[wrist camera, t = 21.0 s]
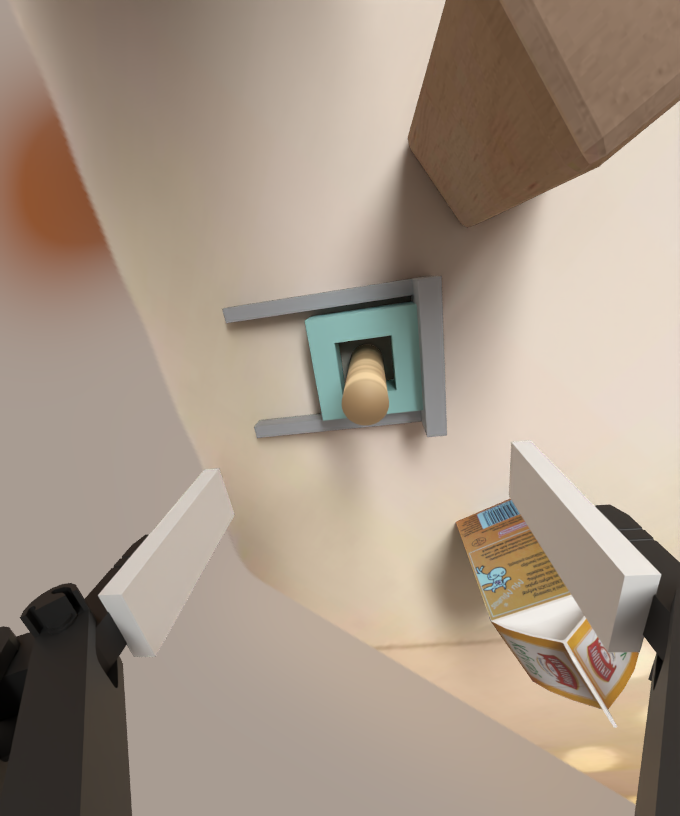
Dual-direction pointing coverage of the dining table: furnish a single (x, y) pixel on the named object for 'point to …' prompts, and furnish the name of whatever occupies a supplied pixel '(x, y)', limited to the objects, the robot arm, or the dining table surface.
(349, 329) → the teal square ring
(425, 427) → the track
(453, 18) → the block
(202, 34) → the dining table surface
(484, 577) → the milk carton
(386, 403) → the dowel
